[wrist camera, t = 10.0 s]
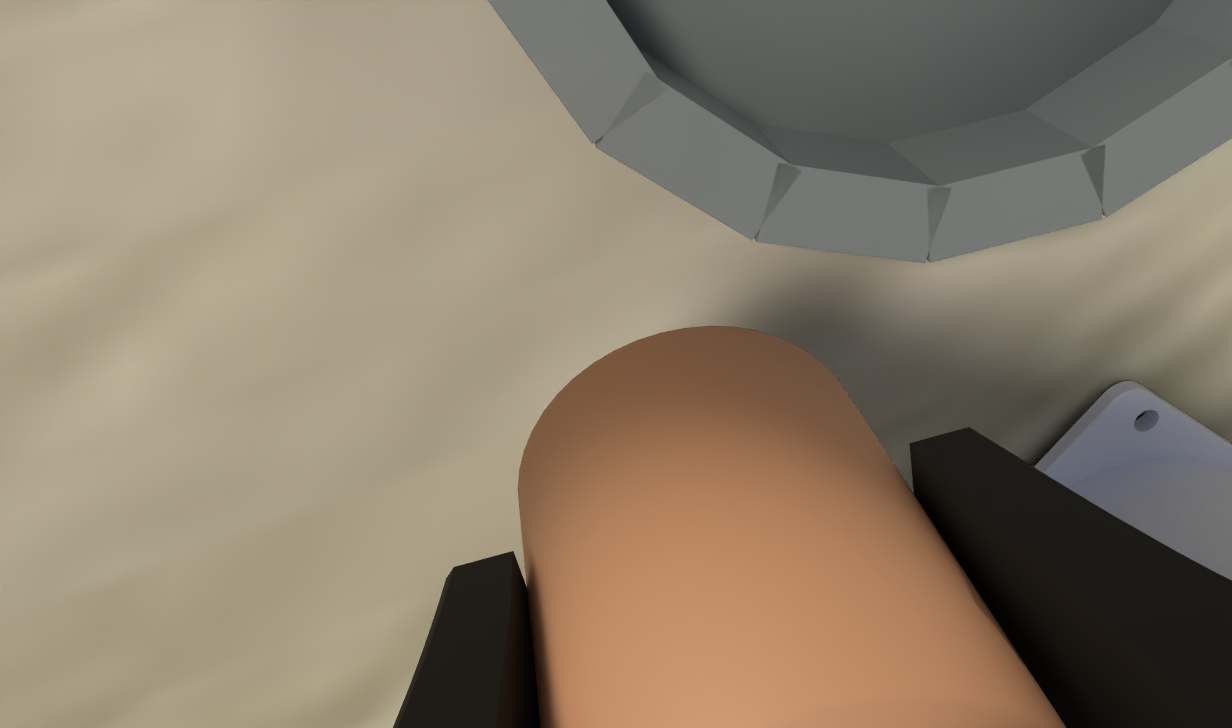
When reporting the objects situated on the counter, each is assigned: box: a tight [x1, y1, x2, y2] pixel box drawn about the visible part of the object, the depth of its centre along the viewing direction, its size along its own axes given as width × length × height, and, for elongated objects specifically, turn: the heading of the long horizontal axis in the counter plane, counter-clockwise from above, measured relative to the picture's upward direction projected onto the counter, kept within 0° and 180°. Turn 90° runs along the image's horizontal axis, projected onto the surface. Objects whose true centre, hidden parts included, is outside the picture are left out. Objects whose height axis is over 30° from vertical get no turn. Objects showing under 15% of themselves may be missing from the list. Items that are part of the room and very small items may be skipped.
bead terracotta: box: [518, 326, 1066, 728], centre depth 9 cm, size 4×4×5 cm
